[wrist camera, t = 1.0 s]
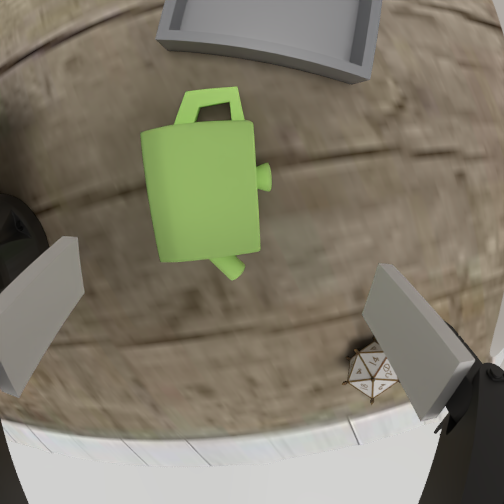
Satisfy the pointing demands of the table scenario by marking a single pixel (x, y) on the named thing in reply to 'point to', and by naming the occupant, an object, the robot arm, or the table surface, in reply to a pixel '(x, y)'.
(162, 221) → the green handled block
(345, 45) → the gray tray
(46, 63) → the table surface
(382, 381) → the game die
